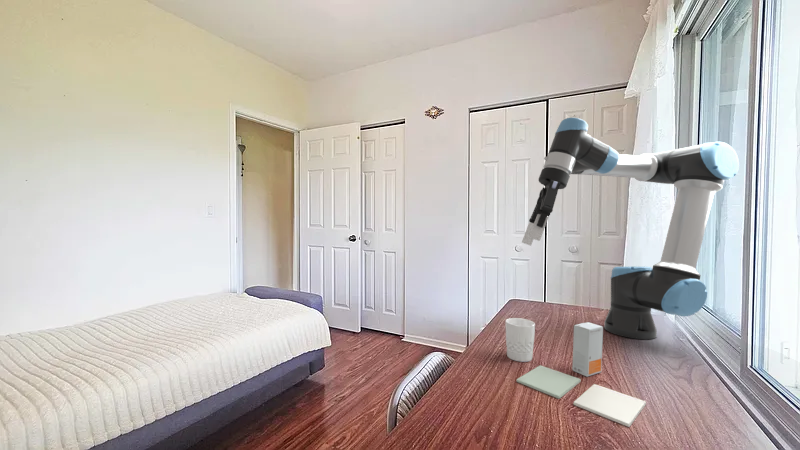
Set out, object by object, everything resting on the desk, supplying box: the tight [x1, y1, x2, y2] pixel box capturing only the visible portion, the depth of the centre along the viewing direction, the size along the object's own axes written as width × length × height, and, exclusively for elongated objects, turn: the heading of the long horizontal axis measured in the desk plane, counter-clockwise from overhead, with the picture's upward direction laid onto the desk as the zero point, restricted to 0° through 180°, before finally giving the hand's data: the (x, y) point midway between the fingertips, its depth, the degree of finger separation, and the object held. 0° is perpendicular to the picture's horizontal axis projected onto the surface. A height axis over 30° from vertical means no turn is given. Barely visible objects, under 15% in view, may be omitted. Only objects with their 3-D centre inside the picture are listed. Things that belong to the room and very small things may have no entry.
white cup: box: [505, 317, 536, 363], centre depth 95 cm, size 8×8×10 cm
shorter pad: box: [516, 364, 582, 400], centre depth 81 cm, size 12×10×1 cm
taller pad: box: [573, 383, 647, 428], centre depth 71 cm, size 12×10×1 cm
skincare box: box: [571, 321, 604, 378], centre depth 87 cm, size 6×4×12 cm
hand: (529, 241), depth 94 cm, fingers open, 13 cm apart
